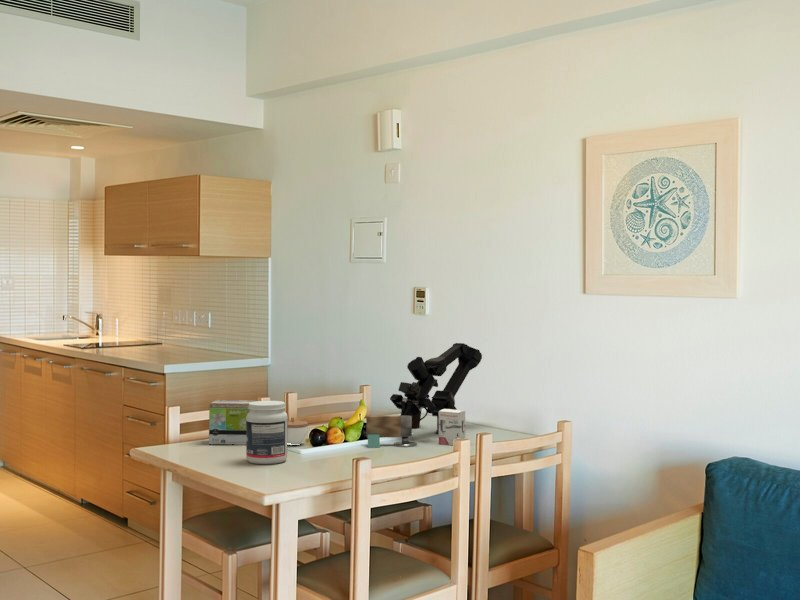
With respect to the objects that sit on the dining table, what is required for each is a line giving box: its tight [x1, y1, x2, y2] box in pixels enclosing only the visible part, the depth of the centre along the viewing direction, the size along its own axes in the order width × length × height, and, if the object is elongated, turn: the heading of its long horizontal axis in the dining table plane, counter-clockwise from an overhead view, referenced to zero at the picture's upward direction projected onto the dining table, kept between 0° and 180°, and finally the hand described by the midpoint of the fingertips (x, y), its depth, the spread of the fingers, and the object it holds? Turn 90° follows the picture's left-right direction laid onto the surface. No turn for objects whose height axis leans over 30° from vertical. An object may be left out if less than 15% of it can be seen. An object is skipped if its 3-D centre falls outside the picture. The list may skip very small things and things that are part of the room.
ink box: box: [438, 409, 467, 446], centre depth 303 cm, size 9×5×12 cm, turn 62°
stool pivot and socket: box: [367, 433, 418, 449], centre depth 300 cm, size 11×17×4 cm, turn 84°
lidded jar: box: [287, 417, 309, 445], centre depth 301 cm, size 11×11×9 cm
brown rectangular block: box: [365, 415, 413, 438], centre depth 300 cm, size 16×4×7 cm, turn 92°
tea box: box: [208, 399, 256, 446], centre depth 304 cm, size 15×10×15 cm, turn 92°
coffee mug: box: [400, 407, 429, 430], centre depth 338 cm, size 12×9×10 cm
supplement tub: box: [245, 400, 289, 465], centre depth 271 cm, size 13×13×18 cm
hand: (400, 421), depth 309 cm, fingers closed
